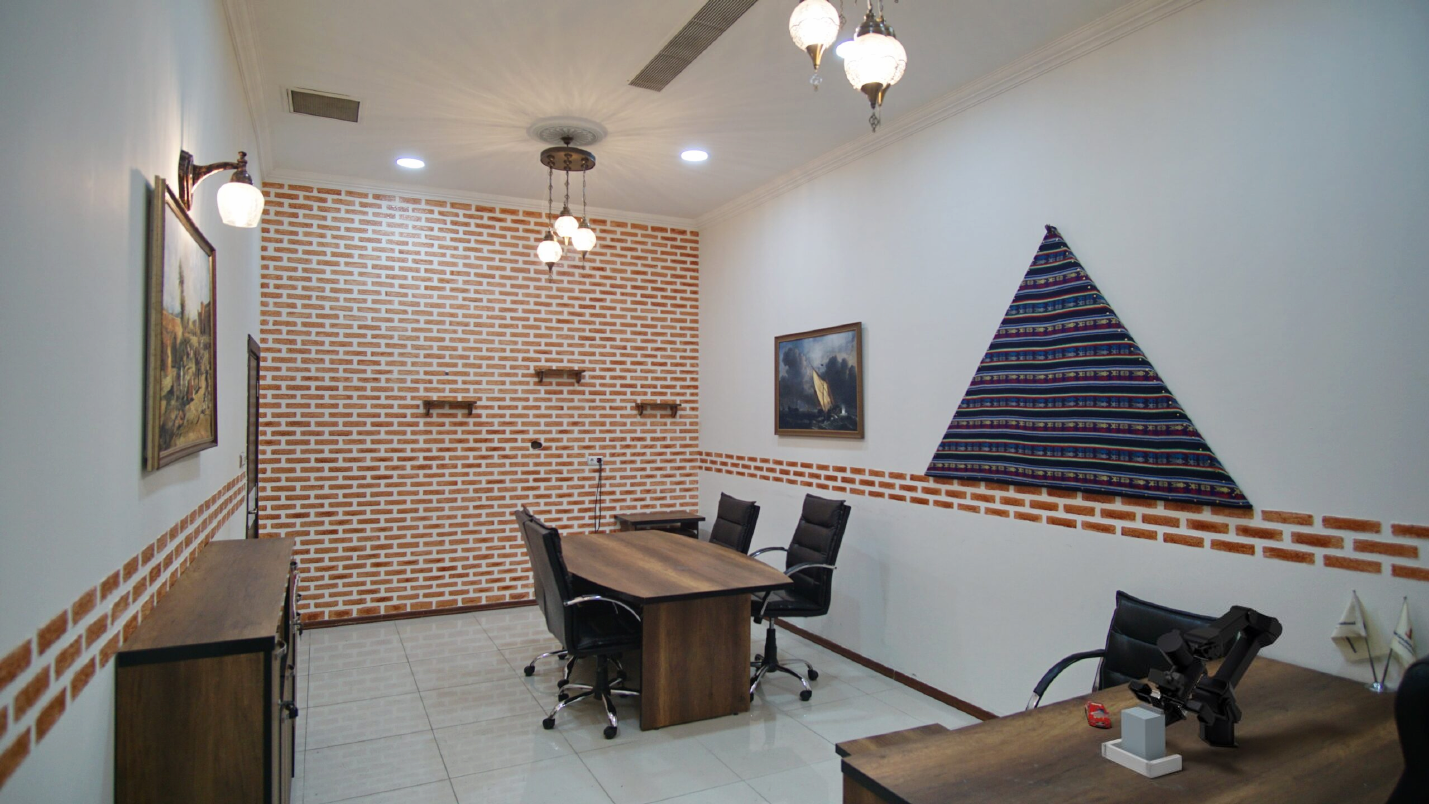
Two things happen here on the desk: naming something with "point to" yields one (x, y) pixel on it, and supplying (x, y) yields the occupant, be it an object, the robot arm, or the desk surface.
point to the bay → (1140, 760)
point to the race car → (1097, 714)
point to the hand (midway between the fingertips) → (1153, 730)
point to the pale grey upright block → (1143, 731)
